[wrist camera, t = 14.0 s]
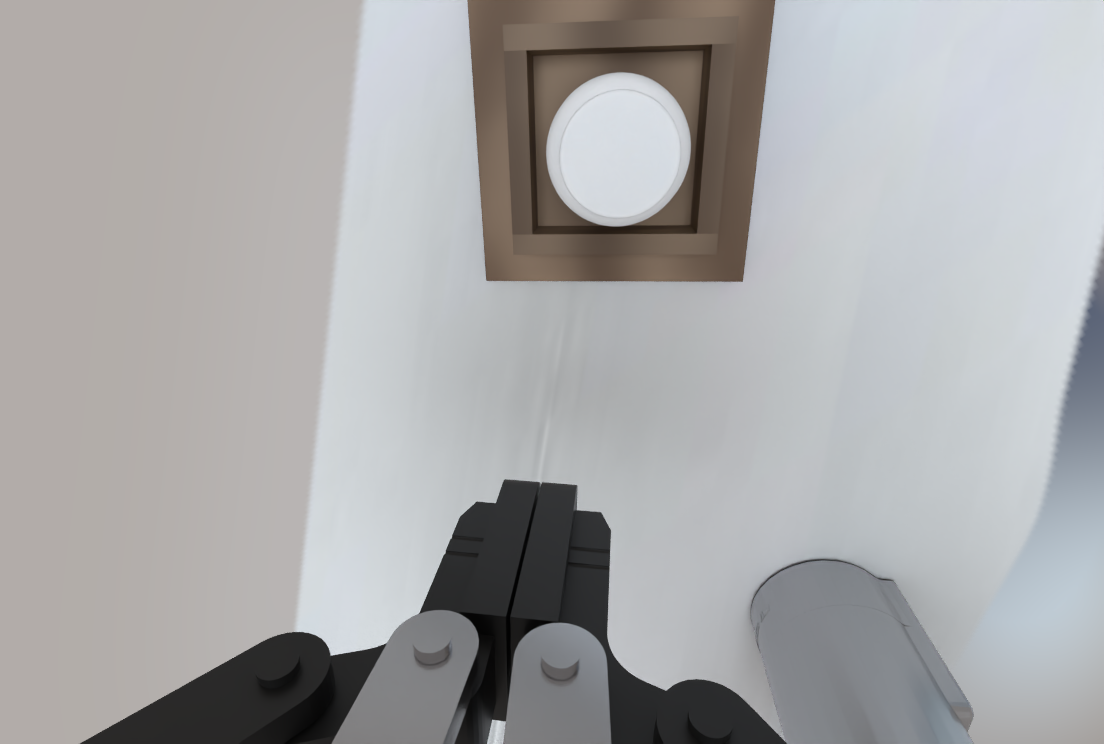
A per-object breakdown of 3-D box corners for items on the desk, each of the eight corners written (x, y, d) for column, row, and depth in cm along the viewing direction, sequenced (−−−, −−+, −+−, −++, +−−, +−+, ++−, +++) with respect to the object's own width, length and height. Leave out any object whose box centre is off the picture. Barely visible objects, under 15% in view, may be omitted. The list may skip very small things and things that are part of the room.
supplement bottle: (696, 148, 29) (739, 162, 19) (610, 227, 30) (611, 275, 21) (620, 55, 27) (627, 22, 18) (535, 144, 29) (502, 156, 20)
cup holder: (772, -25, 26) (795, -44, 23) (738, 276, 32) (753, 294, 29) (471, -12, 28) (453, -29, 24) (489, 276, 33) (477, 293, 30)
